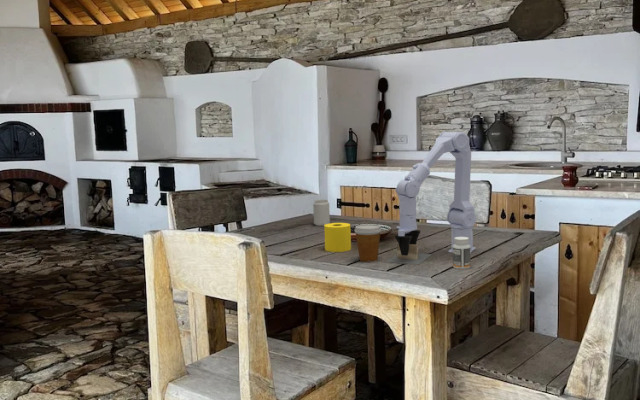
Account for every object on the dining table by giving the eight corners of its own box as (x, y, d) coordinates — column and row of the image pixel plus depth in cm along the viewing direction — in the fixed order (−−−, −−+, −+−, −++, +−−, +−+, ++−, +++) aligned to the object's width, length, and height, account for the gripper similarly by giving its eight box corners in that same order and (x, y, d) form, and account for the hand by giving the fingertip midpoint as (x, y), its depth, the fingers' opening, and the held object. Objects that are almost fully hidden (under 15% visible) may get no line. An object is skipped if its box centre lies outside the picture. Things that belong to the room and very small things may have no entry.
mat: (400, 253, 226) (400, 251, 226) (432, 255, 221) (432, 254, 221) (385, 262, 212) (385, 261, 212) (418, 265, 207) (418, 264, 207)
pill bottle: (467, 265, 205) (467, 235, 204) (472, 269, 199) (472, 239, 198) (450, 265, 205) (450, 236, 204) (455, 270, 199) (455, 240, 198)
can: (312, 224, 293) (311, 199, 292) (327, 223, 295) (326, 198, 294) (316, 227, 286) (315, 201, 284) (331, 225, 288) (331, 200, 287)
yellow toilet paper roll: (321, 248, 239) (320, 224, 238) (344, 245, 243) (344, 222, 242) (330, 253, 230) (330, 228, 229) (355, 250, 234) (354, 225, 232)
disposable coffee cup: (359, 256, 223) (358, 223, 222) (385, 257, 220) (384, 224, 218) (351, 262, 214) (350, 228, 213) (377, 263, 211) (377, 229, 209)
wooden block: (398, 257, 218) (398, 243, 217) (417, 258, 215) (417, 244, 214) (397, 258, 216) (397, 244, 216) (416, 259, 213) (416, 245, 213)
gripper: (403, 211, 222) (404, 247, 223) (389, 217, 209) (390, 256, 211) (422, 211, 218) (422, 249, 220) (409, 218, 206) (409, 257, 207)
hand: (408, 252), depth 215 cm, fingers open, 7 cm apart
